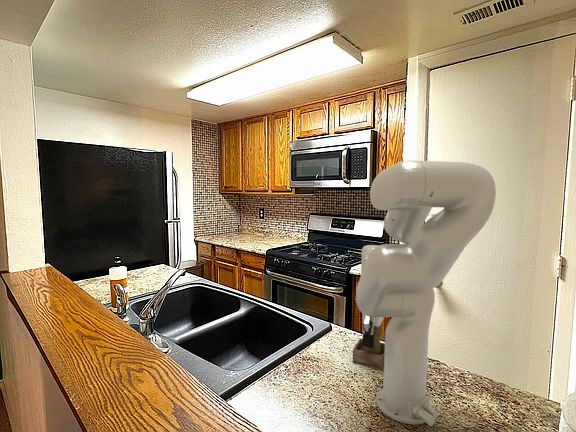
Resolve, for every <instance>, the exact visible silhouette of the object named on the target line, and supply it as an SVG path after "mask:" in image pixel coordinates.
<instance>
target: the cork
mask: <svg viewBox="0 0 576 432" xmlns="http://www.w3.org/2000/svg"><path fill="white" fill-rule="evenodd" d="M371 324H373V323H371ZM381 325H382V324H380V326H379V327H376V326H374V331H373V334H374V347H373V348H369V347H365V346H363V350H362V351H364V352H368V353H373V354H377V355H381V347H380V343H381V339H380V335H381V331H382V326H381ZM369 327H370V326H369ZM370 328H372V327H370ZM379 334H380V335H379Z"/></svg>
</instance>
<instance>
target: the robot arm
mask: <svg viewBox="0 0 576 432" xmlns="http://www.w3.org/2000/svg"><path fill="white" fill-rule="evenodd" d="M496 190H497V189H496V182H495V179H494V178H493V175H492V174H491V172H489V171H488V170H487V169H486V168H484V167H483V166H480V165H479V164H478V165H477V164H475V163H469V162H463V161H462V162H460V161H444V160H443V161H439V160H438V161H434V160H432V161H431V160H403V161H399V162H397V163H395V164H393V165H390V166H389V167H388V168H386V169H384V170H382V171H381V172H379V173H378V174H377V175H376V176H375V177H374V179H373V181H372V183H371V187H370V190H369V198H370V202H371V205H372V206H373V207H374V209H377V210H379V211H387V213H386V215H385V217H384V219H383V228H384V230H385V232H386V233H387V234H388V235H389V236H390V237H391V238H393V239H394V240H396V241H399V242H401V243H389V244H388V243H385V244H380V245H377V244H367V245H364V246H363V247H362V249H361V260H360V261H361V265H360V266H361V269H360V277H359V280H358V283H357V287H356V293H355V294H356V295H355V301H356V305H357V307H358V310H359V311H360V312H361V313H362V314H361V315H362V316H361V319H362V321H361V322H362V324H363V329H362V339H363V346H365V347H369V348H373V347H374V334H373V331H374V326H376V327H379V326H380V325H382V322H383V320H384V319H385V318H391V319H390V320H389V322H388V323H387V325H386V328H385V333H384V343H385V350H384V370H383V383H382V384H383V385H382V388H381V389H380V390H379V391H378V392H377V394H376V396H375V398H376V399H375V400H376V405H377V406H378V409H379V410H380V411H381V412H382V413H383V414H384V415H385V416H387V417H388V418H390V419H392V420H394V421H397V422H400V423H403V424H406V425H407V424H408V425H422V424H425V423H426V424H427V426H429V427H433V426H434V425H435V422H436V418H438V417H439V412H438V411H436V410H435V409H433V405H432V404H431V402H430V398H431V397H430V396H428V395H427V374H428V352H429V351H428V350H429V334H430V333H429V331H430V324H431V317H432V314H433V311H434V306H435V301H436V300H435V299H436V293H435V290H434V288H436V287H438V286H439V285H440V284H441V283H442V282H443V281H444V279H446V278H445V277H446V276H447V275H448V274H449V272H450V270H451V269H452V267H453V266H454V265H455V263H456V261H457V260H458V259H459V257H460V255H461V254H462V252H463V251H464V249H465V248H466V247H467V245H469V243H470V242H471V241H472V240H473V239H474V238H475V237H476V236H477V235H478V234H479V232H480V231H481V230H482V229H483V228H484V227H485V226H486V224H487V222H488V221H489V219H490V217H491V216H492V213H493V210H494V206H495V203H496V196H497V195H496V194H497V191H496ZM433 208H442V210H440V211H439V212H437V213H435V214H434V215H432V216H431V217H430V218H429V219H427V218H428V216H429V214H430V212H431V211H432V209H433ZM371 323H373V324H371ZM369 326H370V327H372V328H370V327H369ZM380 335H381V333H380V334H379V336H380Z"/></svg>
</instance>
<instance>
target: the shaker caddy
mask: <svg viewBox="0 0 576 432" xmlns="http://www.w3.org/2000/svg"><path fill="white" fill-rule="evenodd" d="M380 347H381V355H377V354H373V353H368V352H364V351H362V350H363V338H359V339H358V341H357V343H356V344H355V345H354V348H353V349H352V364H356V365H360V366H364V367H368V368H371V369H377V370H380V371H384V350H385V342H384V343H383V342H380Z"/></svg>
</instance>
